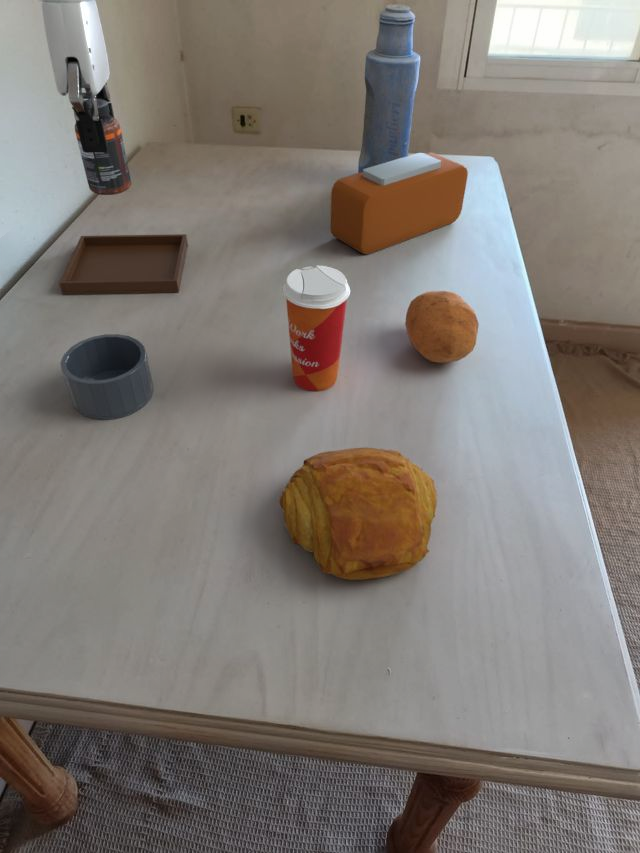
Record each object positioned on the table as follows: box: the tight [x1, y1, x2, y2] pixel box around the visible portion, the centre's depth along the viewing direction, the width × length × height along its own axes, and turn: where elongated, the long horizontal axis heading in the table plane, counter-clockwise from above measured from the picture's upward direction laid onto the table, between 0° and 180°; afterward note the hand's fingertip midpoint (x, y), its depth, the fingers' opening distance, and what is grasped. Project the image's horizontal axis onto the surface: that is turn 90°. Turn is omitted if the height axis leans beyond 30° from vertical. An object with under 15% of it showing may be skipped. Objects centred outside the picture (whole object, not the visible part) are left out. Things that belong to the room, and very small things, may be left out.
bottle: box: [357, 4, 421, 174], centre depth 116 cm, size 10×10×30 cm
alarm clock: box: [329, 152, 469, 255], centre depth 107 cm, size 24×8×11 cm, turn 128°
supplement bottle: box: [74, 99, 132, 196], centre depth 86 cm, size 6×6×11 cm
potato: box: [404, 290, 479, 364], centre depth 82 cm, size 9×11×8 cm
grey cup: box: [60, 333, 154, 421], centre depth 75 cm, size 10×10×6 cm
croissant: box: [279, 446, 438, 581], centre depth 61 cm, size 14×16×8 cm
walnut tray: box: [58, 233, 189, 296], centre depth 99 cm, size 17×15×2 cm
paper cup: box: [282, 264, 351, 392], centre depth 75 cm, size 8×8×14 cm
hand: (100, 141), depth 85 cm, fingers closed on supplement bottle, 6 cm apart
